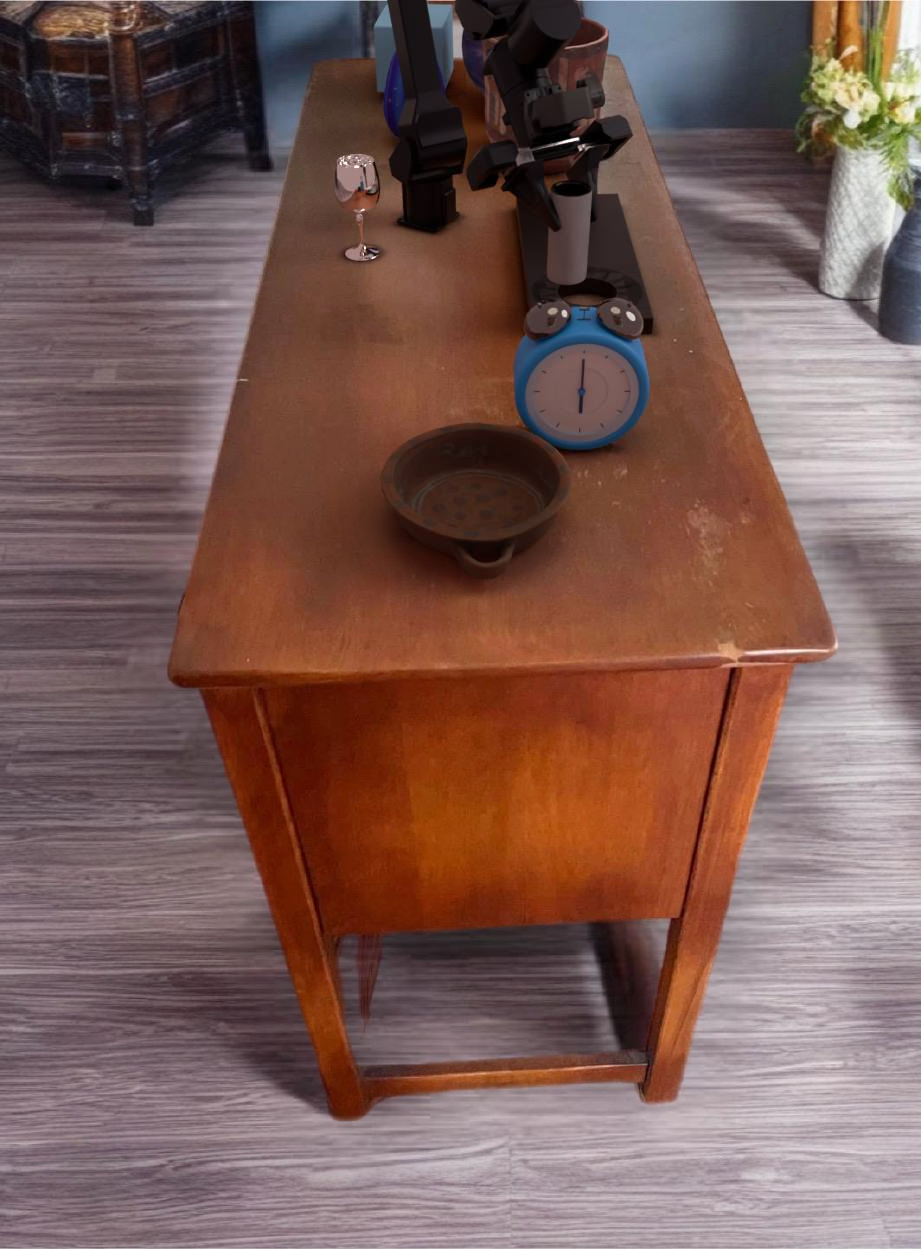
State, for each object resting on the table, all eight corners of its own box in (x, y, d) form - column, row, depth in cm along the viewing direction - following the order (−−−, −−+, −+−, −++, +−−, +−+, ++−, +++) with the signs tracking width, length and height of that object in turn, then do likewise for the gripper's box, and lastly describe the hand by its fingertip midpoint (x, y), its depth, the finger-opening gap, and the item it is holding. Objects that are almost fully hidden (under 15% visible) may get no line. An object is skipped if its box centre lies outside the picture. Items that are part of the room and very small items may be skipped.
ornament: (399, 124, 190) (394, 23, 180) (454, 129, 188) (452, 27, 178) (377, 149, 182) (370, 45, 172) (434, 154, 180) (431, 49, 170)
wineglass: (392, 248, 156) (386, 156, 148) (371, 266, 152) (364, 172, 144) (353, 241, 158) (346, 149, 150) (332, 258, 154) (323, 165, 146)
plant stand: (515, 210, 165) (516, 195, 163) (616, 207, 165) (617, 193, 163) (531, 336, 138) (531, 320, 136) (652, 333, 138) (653, 318, 136)
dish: (384, 598, 103) (380, 553, 100) (382, 456, 120) (379, 413, 116) (583, 588, 104) (586, 543, 101) (555, 448, 120) (556, 405, 117)
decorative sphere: (459, 91, 201) (456, -40, 188) (576, 87, 202) (582, -45, 189) (466, 132, 187) (464, -8, 174) (592, 127, 188) (600, -13, 175)
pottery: (573, 132, 186) (579, 7, 174) (619, 172, 174) (629, 40, 162) (466, 146, 182) (465, 19, 170) (506, 189, 170) (507, 55, 158)
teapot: (442, 110, 195) (439, 19, 186) (375, 108, 196) (369, 17, 187) (458, 67, 211) (456, -19, 202) (396, 66, 212) (391, -19, 203)
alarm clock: (513, 454, 120) (515, 317, 110) (512, 421, 124) (514, 287, 114) (644, 453, 119) (658, 316, 109) (638, 420, 124) (651, 286, 114)
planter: (589, 284, 135) (596, 195, 128) (550, 286, 134) (554, 197, 127) (582, 266, 138) (587, 178, 131) (543, 268, 138) (547, 180, 131)
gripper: (479, 66, 120) (533, 212, 120) (631, 36, 126) (682, 175, 127) (443, 121, 130) (493, 256, 131) (585, 91, 137) (632, 219, 137)
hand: (576, 225), depth 131 cm, fingers closed on planter, 4 cm apart
